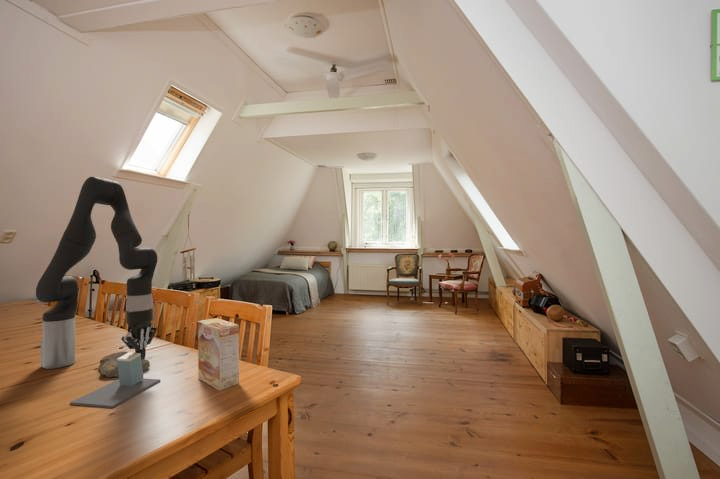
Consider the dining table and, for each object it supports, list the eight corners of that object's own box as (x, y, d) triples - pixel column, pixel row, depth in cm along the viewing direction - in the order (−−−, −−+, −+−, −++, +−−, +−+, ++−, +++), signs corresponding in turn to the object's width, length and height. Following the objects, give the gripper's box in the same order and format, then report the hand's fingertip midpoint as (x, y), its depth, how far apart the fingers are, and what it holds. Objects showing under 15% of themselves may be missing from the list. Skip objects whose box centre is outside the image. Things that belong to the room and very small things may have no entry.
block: (119, 385, 108) (116, 358, 107) (131, 378, 113) (128, 352, 111) (132, 386, 108) (129, 359, 106) (143, 379, 112) (140, 353, 111)
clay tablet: (93, 366, 127) (103, 381, 113) (93, 353, 128) (103, 366, 113) (137, 358, 137) (151, 370, 123) (137, 345, 138) (151, 356, 123)
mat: (70, 404, 97) (70, 402, 97) (123, 378, 115) (123, 377, 115) (112, 408, 95) (112, 405, 95) (160, 381, 113) (160, 379, 113)
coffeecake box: (197, 378, 115) (197, 320, 115) (217, 372, 120) (217, 317, 120) (218, 391, 105) (218, 328, 105) (239, 384, 111) (239, 324, 111)
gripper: (144, 303, 120) (145, 352, 121) (112, 312, 107) (113, 366, 107) (164, 304, 119) (164, 353, 119) (133, 312, 106) (134, 367, 106)
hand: (140, 359), depth 113 cm, fingers closed
